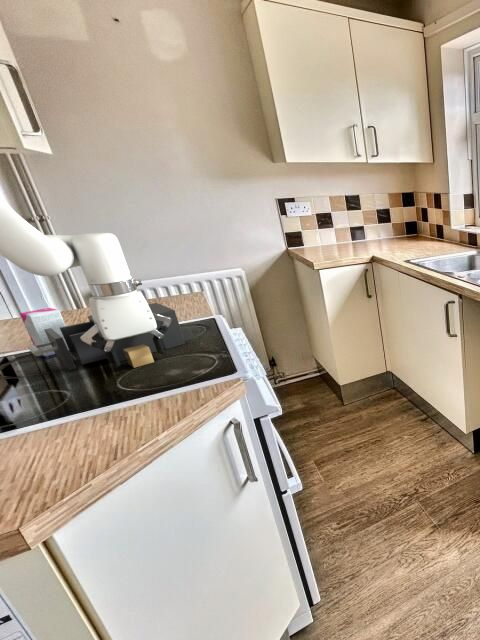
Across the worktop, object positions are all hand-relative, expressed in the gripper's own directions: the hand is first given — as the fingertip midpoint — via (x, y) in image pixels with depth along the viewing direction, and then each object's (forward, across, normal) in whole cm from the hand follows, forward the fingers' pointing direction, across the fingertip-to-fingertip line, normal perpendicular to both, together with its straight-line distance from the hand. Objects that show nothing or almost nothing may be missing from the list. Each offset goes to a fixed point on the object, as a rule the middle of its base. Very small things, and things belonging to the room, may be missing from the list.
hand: (139, 358), depth 102 cm
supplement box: (+1, +10, -29) cm, 30 cm away
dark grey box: (0, +7, -13) cm, 15 cm away
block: (+1, 0, 0) cm, 1 cm away
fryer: (+1, -4, -13) cm, 14 cm away
